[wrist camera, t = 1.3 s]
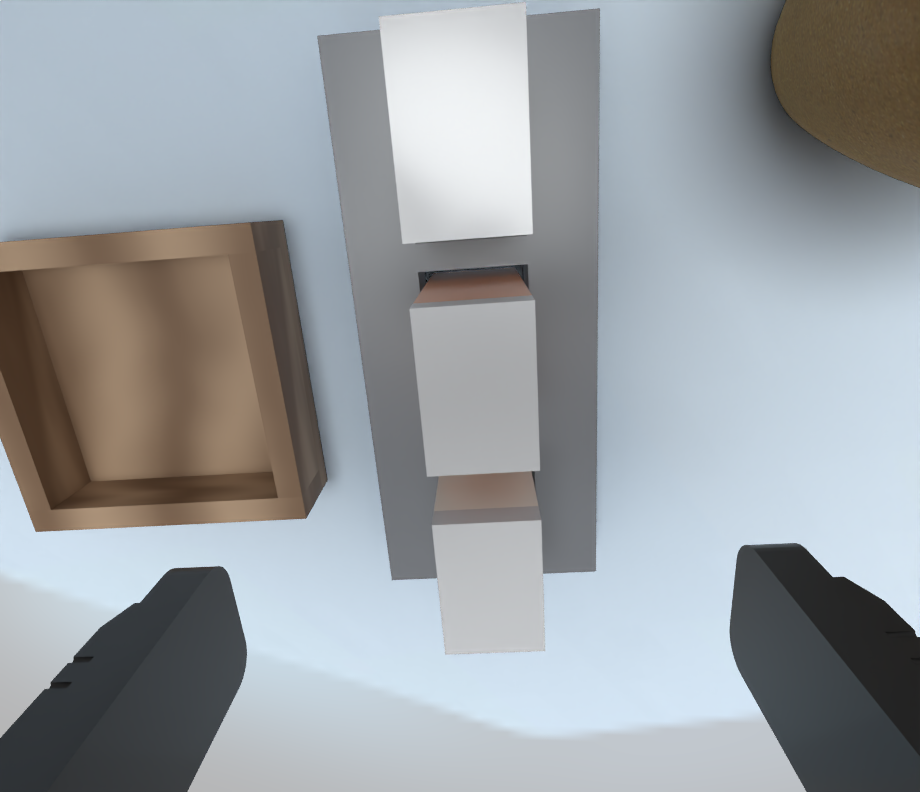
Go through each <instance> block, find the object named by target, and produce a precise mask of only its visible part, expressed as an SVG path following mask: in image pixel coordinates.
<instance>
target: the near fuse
mask: <svg viewBox="0 0 920 792" xmlns="http://www.w3.org/2000/svg"><path fill="white" fill-rule="evenodd" d="M379 25H380V35H381V44H382V54H383V63H384V73H385V82H386V92H387V101H388V111H389V120H390V130H391V139H392V149H393V159H394V168H395V178H396V187H397V197H398V206H399V216H400V225H401V235H402V244H408V243H422V242H435V241H448V240H461V239H474V238H488V237H501V236H514V235H527V234H533V223H532V190H531V157H530V123H529V90H528V57H527V24H526V2H521V3H511V4H501V5H491V6H480V7H470V8H460V9H450V10H440V11H429V12H419V13H409V14H399V15H389V16H379Z"/></svg>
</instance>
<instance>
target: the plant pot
mask: <svg viewBox="0 0 920 792" xmlns="http://www.w3.org/2000/svg"><path fill="white" fill-rule="evenodd" d="M771 75H772V81H773V84H774V88H775V92H776V95H777V97H778V99H779V101H780V103H781V105H782V106H783V108H784V110H785V111H786V112H787V114H788V115H789V116H790V118H791V119H793V120H794V121H795V122H796V123H797V124H798V125H799V126H800V127H801V128H803V129H804V130H806V131H807V132H808V133H810V134H811V135H812V136H814V137H815V138H816V139H818V140H819V141H821V142H823V143H824V144H826V145H827V146H829V147H831V148H832V149H834V150H836V151H838V152H840V153H841V154H843V155H845V156H847V157H849V158H851V159H853V160H855V161H857V162H859V163H861V164H863V165H865V166H867V167H869V168H871V169H873V170H876V171H878V172H881V173H883V174H885V175H888V176H890V177H892V178H895V179H897V180H900V181H903V182H905V183H908V184H911V185H913V186H916V187H919V188H920V0H786V2H785V4H784V7H783V9H782V12H781V15H780V17H779V20H778V23H777V25H776V29H775V33H774V37H773V41H772V50H771Z"/></svg>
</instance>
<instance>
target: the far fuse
mask: <svg viewBox="0 0 920 792" xmlns="http://www.w3.org/2000/svg"><path fill="white" fill-rule="evenodd" d="M432 532H433V541H434V551H435V560H436V570H437V579H438V589H439V598H440V608H441V617H442V627H443V636H444V646H445V654H474V653H503V652H531V651H545V627H544V594H543V560H542V527H541V516H540V511H539V506H538V501H537V496H536V491H535V486H534V481H533V477H532V472H531V471H526V472H507V473H489V474H470V475H451V476H439V480H438V486H437V493H436V500H435V507H434V514H433V521H432Z"/></svg>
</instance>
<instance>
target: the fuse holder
mask: <svg viewBox="0 0 920 792" xmlns="http://www.w3.org/2000/svg"><path fill="white" fill-rule="evenodd" d="M526 24H527V57H528V90H529V123H530V157H531V190H532V223H533V234H527V235H514V236H501V237H488V238H474V239H461V240H448V241H435V242H422V243H408V244H402V235H401V225H400V216H399V206H398V197H397V187H396V178H395V168H394V159H393V149H392V139H391V130H390V120H389V111H388V101H387V92H386V82H385V73H384V63H383V54H382V44H381V35H380V30H373V31H362V32H352V33H342V34H331V35H321V36H317V37H318V44H319V52H320V59H321V66H322V74H323V81H324V88H325V95H326V103H327V110H328V117H329V125H330V132H331V139H332V146H333V154H334V161H335V168H336V176H337V183H338V190H339V197H340V205H341V212H342V219H343V227H344V234H345V241H346V248H347V256H348V263H349V270H350V277H351V285H352V292H353V299H354V307H355V314H356V321H357V328H358V336H359V343H360V350H361V358H362V365H363V372H364V379H365V387H366V394H367V401H368V409H369V416H370V423H371V430H372V438H373V445H374V452H375V460H376V467H377V474H378V481H379V489H380V496H381V503H382V511H383V518H384V525H385V532H386V540H387V547H388V554H389V561H390V569H391V576H392V580H403V579H427V578H437V570H436V560H435V551H434V541H433V532H432V521H433V514H434V507H435V500H436V493H437V486H438V480H439V476H432V477H427V472H426V462H425V452H424V443H423V433H422V424H421V414H420V405H419V395H418V386H417V376H416V367H415V357H414V347H413V338H412V328H411V319H410V307H411V306H412V304H413V303H414V301H415V300H416V298H417V297H418V295H419V294H420V292H421V291H422V289H423V288H424V286H425V285H426V278H425V272H428V271H442V270H456V269H470V268H483V267H497V266H511V265H523V281H524V283H525V285H526V286H527V288H528V290H529V291H530V293H531V294H532V296H533V298H534V299H535V317H536V350H537V384H538V417H539V451H540V471H531V472H532V477H533V481H534V486H535V491H536V496H537V501H538V506H539V511H540V516H541V527H542V560H543V574H544V573H567V572H591V571H596V465H597V324H598V184H599V44H600V8H599V9H589V10H579V11H568V12H558V13H548V14H538V15H527V16H526Z"/></svg>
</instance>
